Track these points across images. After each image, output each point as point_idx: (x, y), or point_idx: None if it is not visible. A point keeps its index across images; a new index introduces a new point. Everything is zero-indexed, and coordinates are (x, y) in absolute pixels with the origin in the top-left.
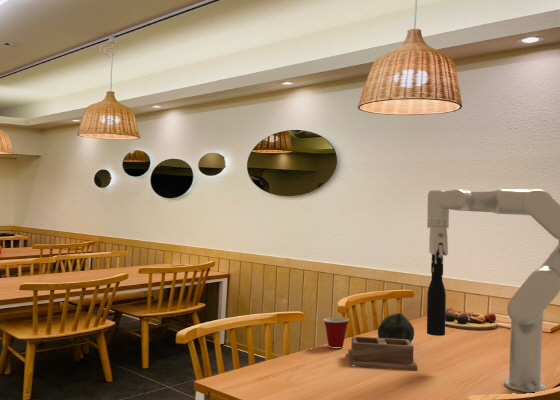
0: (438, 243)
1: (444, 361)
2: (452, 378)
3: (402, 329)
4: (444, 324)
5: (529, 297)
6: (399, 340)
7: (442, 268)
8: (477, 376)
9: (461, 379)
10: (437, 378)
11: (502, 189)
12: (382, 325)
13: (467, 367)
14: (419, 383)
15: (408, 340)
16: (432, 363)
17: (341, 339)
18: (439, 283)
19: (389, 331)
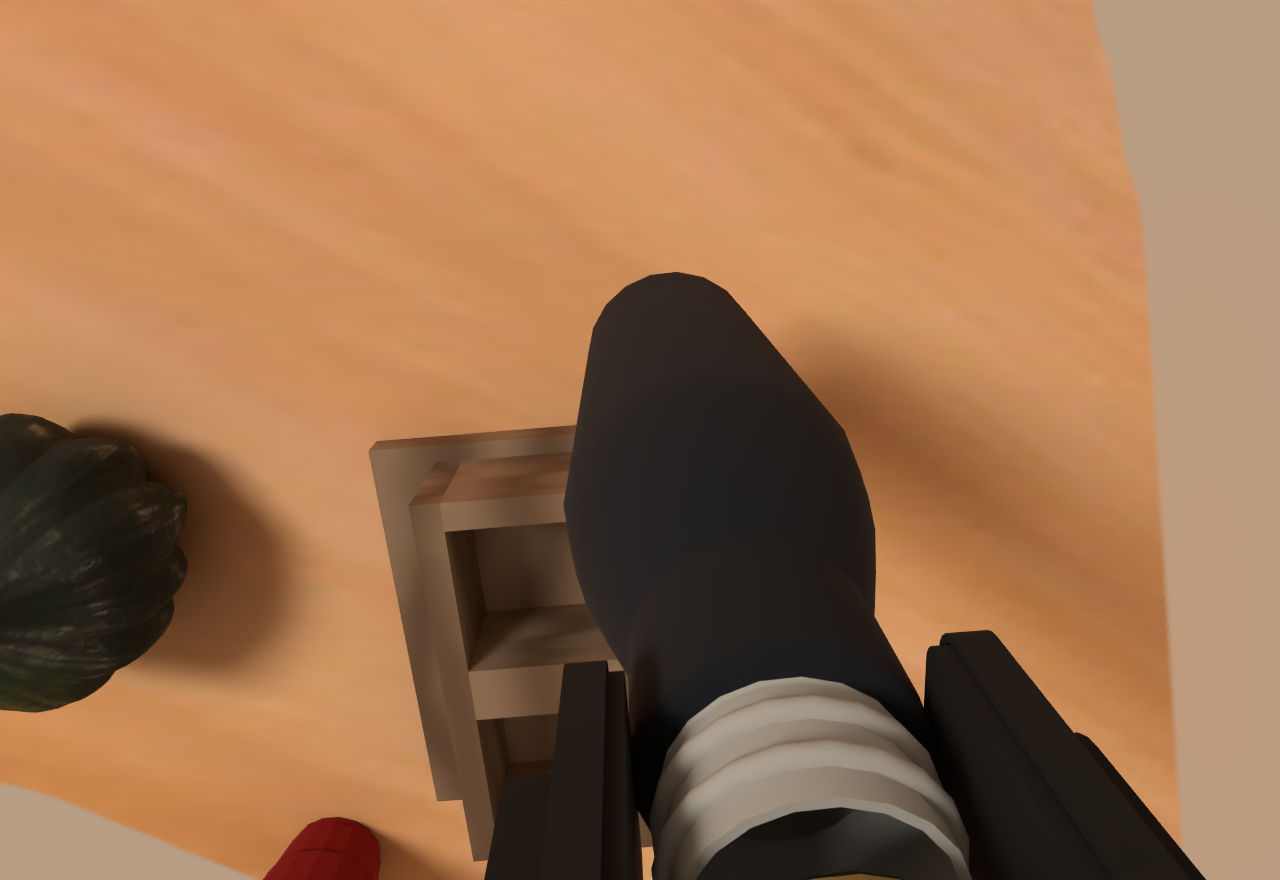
0: None
1: (401, 200)
2: (816, 209)
3: (109, 543)
4: (731, 302)
5: None
6: (453, 570)
7: (1092, 777)
8: (729, 11)
9: (826, 149)
10: (836, 308)
11: None
12: (77, 696)
13: (510, 42)
14: (953, 425)
15: (444, 509)
16: (490, 298)
17: (354, 871)
18: (874, 577)
19: (140, 626)
